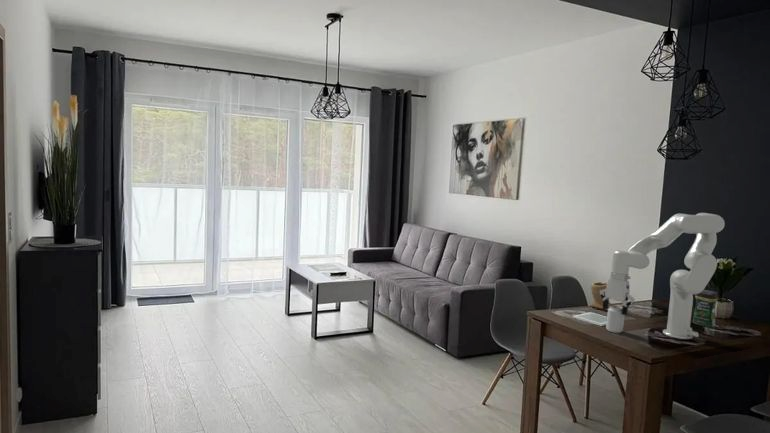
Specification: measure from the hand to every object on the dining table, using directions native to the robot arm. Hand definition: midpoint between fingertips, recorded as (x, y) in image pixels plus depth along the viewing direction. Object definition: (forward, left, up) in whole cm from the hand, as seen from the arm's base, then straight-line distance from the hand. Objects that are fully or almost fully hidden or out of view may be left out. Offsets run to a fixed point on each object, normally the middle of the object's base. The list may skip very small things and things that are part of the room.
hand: (614, 311), depth 255 cm
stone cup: (+26, -36, -10) cm, 45 cm away
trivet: (+15, -11, -10) cm, 21 cm away
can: (-1, -1, -10) cm, 10 cm away
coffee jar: (-18, -57, -10) cm, 60 cm away
